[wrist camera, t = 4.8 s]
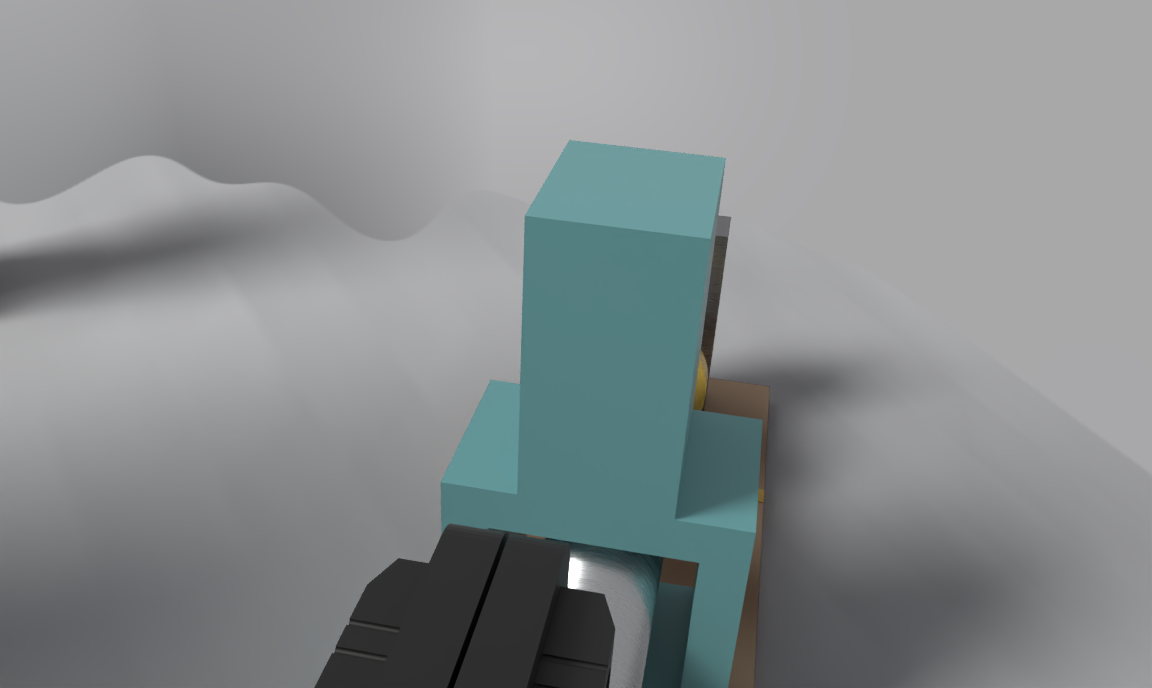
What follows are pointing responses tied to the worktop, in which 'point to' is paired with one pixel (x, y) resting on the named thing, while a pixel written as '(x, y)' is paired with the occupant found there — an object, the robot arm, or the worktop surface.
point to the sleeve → (622, 399)
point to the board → (680, 572)
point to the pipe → (636, 574)
